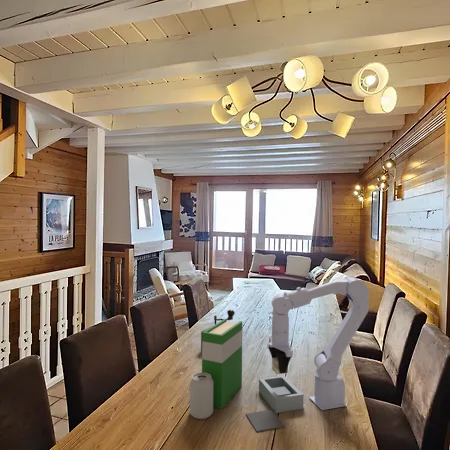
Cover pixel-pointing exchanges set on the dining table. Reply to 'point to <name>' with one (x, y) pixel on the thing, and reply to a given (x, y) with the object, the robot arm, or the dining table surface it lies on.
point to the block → (276, 366)
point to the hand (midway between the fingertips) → (279, 369)
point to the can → (201, 395)
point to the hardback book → (223, 359)
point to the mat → (265, 420)
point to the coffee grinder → (230, 317)
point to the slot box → (280, 394)
